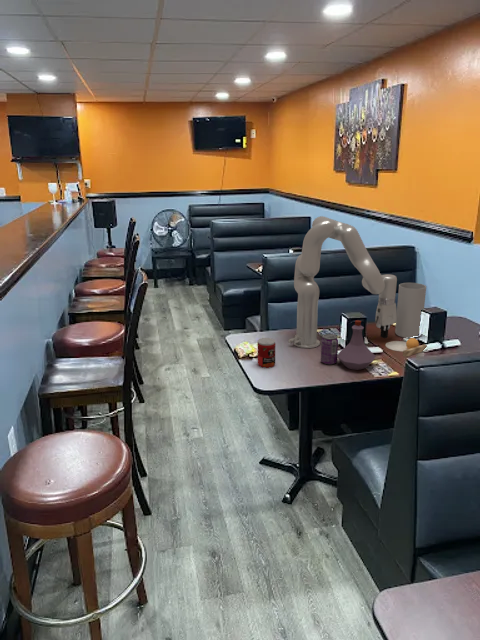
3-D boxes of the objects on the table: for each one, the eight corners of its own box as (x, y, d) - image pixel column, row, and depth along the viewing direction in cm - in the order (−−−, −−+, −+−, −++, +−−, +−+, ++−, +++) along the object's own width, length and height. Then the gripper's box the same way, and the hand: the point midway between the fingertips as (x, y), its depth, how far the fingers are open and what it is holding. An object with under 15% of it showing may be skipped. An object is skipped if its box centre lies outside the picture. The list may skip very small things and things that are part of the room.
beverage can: (338, 360, 219) (339, 334, 216) (335, 366, 213) (337, 339, 209) (322, 358, 222) (323, 332, 218) (319, 364, 215) (320, 338, 211)
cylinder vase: (423, 339, 242) (428, 289, 234) (396, 338, 244) (400, 288, 236) (419, 330, 254) (424, 283, 246) (393, 329, 256) (397, 282, 248)
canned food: (263, 369, 211) (263, 345, 208) (254, 363, 218) (254, 339, 214) (278, 366, 214) (279, 342, 211) (269, 359, 221) (269, 336, 218)
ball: (410, 353, 227) (415, 344, 224) (401, 345, 231) (406, 336, 227) (418, 351, 230) (423, 342, 227) (409, 343, 233) (414, 334, 230)
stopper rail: (405, 356, 221) (405, 351, 221) (402, 355, 223) (403, 350, 222) (426, 350, 228) (427, 345, 227) (423, 349, 229) (424, 344, 229)
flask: (333, 358, 222) (335, 315, 215) (371, 358, 221) (374, 315, 214) (338, 373, 206) (340, 327, 200) (378, 373, 205) (382, 327, 199)
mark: (401, 353, 225) (401, 353, 225) (379, 345, 236) (379, 344, 236) (420, 347, 232) (420, 347, 231) (398, 339, 242) (398, 339, 242)
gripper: (381, 305, 229) (378, 342, 235) (404, 300, 236) (400, 336, 242) (369, 301, 235) (367, 338, 241) (391, 296, 242) (388, 332, 248)
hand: (384, 337), depth 241 cm, fingers closed
